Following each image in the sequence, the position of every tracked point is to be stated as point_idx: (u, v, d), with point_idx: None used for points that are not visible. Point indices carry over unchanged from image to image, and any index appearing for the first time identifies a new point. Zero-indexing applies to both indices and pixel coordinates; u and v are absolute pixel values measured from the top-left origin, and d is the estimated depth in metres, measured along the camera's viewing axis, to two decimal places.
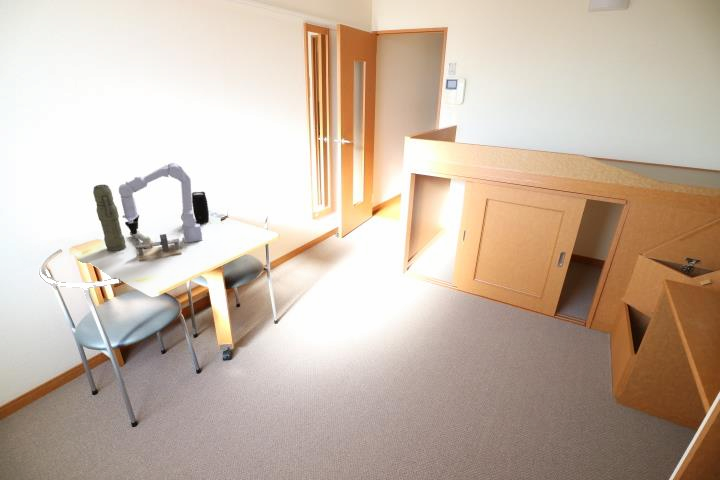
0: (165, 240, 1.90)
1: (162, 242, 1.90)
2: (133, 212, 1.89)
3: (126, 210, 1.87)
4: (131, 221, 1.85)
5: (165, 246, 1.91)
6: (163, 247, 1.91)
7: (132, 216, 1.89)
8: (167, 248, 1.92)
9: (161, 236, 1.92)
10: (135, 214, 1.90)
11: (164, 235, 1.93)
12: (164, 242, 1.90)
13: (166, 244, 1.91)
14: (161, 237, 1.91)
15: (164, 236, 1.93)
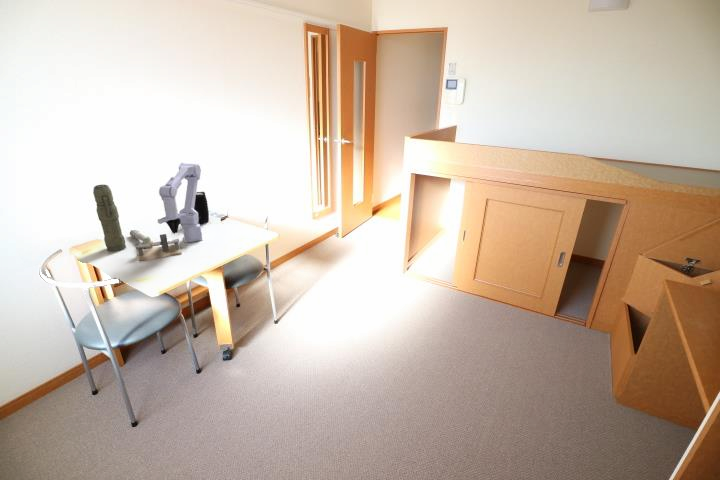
0: (165, 240, 1.90)
1: (162, 242, 1.90)
2: (168, 214, 1.87)
3: (165, 210, 1.88)
4: (159, 221, 1.85)
5: (165, 246, 1.91)
6: (163, 247, 1.91)
7: (167, 217, 1.88)
8: (167, 248, 1.92)
9: (161, 236, 1.92)
10: (170, 216, 1.88)
11: (164, 235, 1.93)
12: (164, 242, 1.90)
13: (166, 244, 1.91)
14: (161, 237, 1.91)
15: (164, 236, 1.93)
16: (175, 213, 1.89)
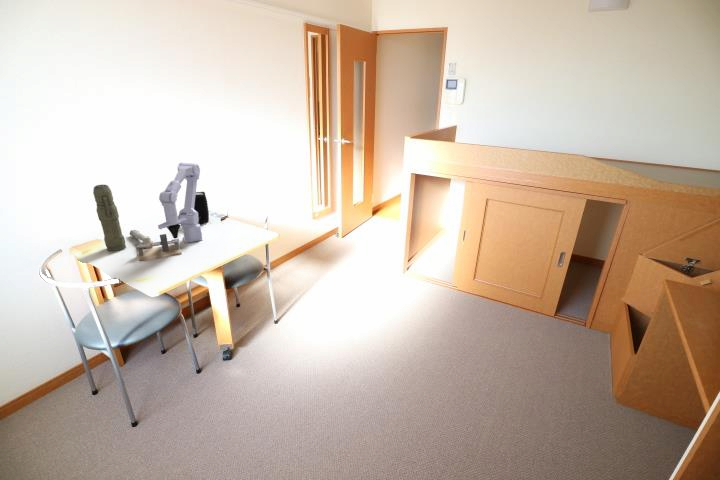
0: (165, 240, 1.90)
1: (162, 242, 1.90)
2: (169, 219, 1.88)
3: (165, 215, 1.89)
4: (159, 227, 1.86)
5: (165, 246, 1.91)
6: (163, 247, 1.91)
7: (168, 223, 1.89)
8: (167, 248, 1.92)
9: (161, 236, 1.92)
10: (171, 222, 1.89)
11: (164, 235, 1.93)
12: (164, 242, 1.90)
13: (166, 244, 1.91)
14: (161, 237, 1.91)
15: (164, 236, 1.93)
16: (175, 218, 1.90)
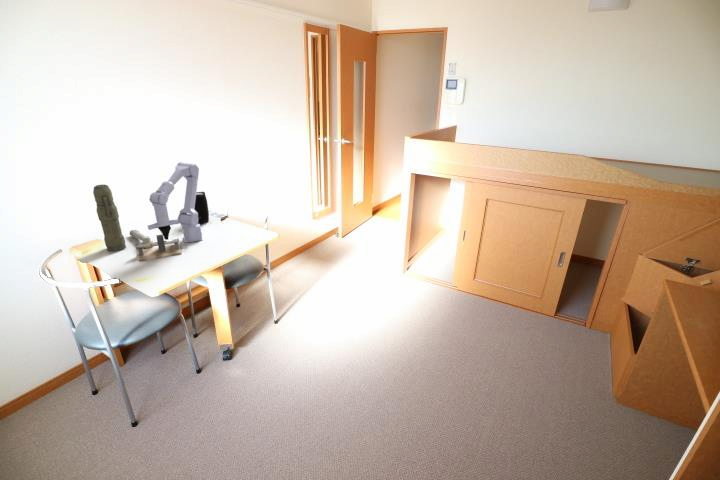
0: (162, 241, 1.89)
1: (159, 243, 1.89)
2: (158, 220, 1.86)
3: None
4: (148, 228, 1.85)
5: (162, 247, 1.90)
6: (160, 248, 1.90)
7: (157, 224, 1.87)
8: (164, 249, 1.91)
9: (158, 236, 1.92)
10: (160, 223, 1.87)
11: (161, 236, 1.92)
12: (161, 243, 1.89)
13: (163, 245, 1.90)
14: (158, 238, 1.90)
15: (161, 236, 1.92)
16: (165, 220, 1.87)
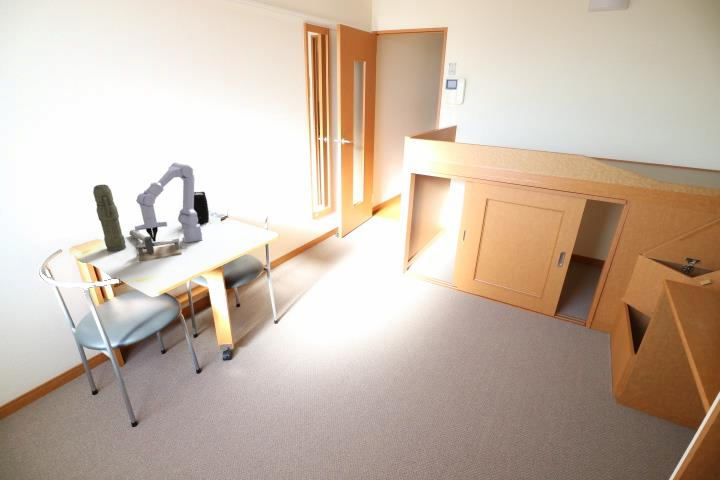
0: (149, 242, 1.87)
1: (146, 244, 1.86)
2: (145, 222, 1.84)
3: None
4: (135, 229, 1.83)
5: (150, 248, 1.88)
6: (148, 249, 1.87)
7: (144, 225, 1.85)
8: (152, 250, 1.89)
9: (146, 238, 1.89)
10: (146, 225, 1.84)
11: (149, 238, 1.90)
12: (148, 244, 1.87)
13: (151, 246, 1.88)
14: (145, 239, 1.88)
15: (149, 238, 1.89)
16: (151, 222, 1.84)
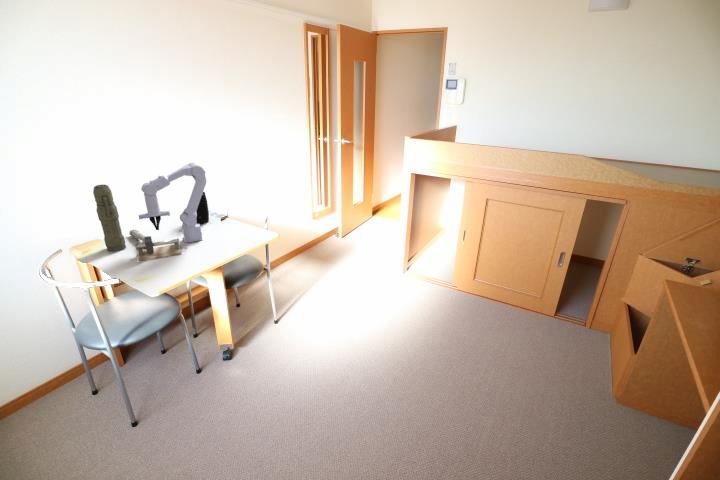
0: (149, 242, 1.87)
1: (146, 244, 1.86)
2: (148, 211, 1.90)
3: None
4: None
5: (150, 248, 1.88)
6: (147, 250, 1.87)
7: (148, 214, 1.92)
8: (152, 251, 1.89)
9: (146, 238, 1.89)
10: (150, 213, 1.91)
11: (149, 238, 1.90)
12: (148, 244, 1.87)
13: (151, 246, 1.88)
14: (145, 239, 1.88)
15: (149, 238, 1.89)
16: (154, 211, 1.91)
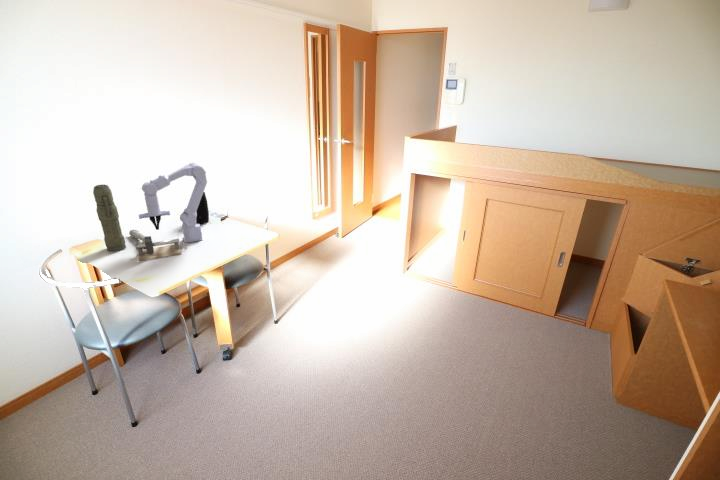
0: (149, 242, 1.87)
1: (146, 244, 1.86)
2: (148, 210, 1.91)
3: None
4: (139, 216, 1.91)
5: (150, 248, 1.88)
6: (147, 250, 1.87)
7: (148, 213, 1.92)
8: (152, 251, 1.89)
9: (146, 238, 1.89)
10: (150, 213, 1.91)
11: (149, 238, 1.90)
12: (148, 244, 1.87)
13: (151, 246, 1.88)
14: (145, 239, 1.88)
15: (149, 238, 1.89)
16: (154, 210, 1.91)
